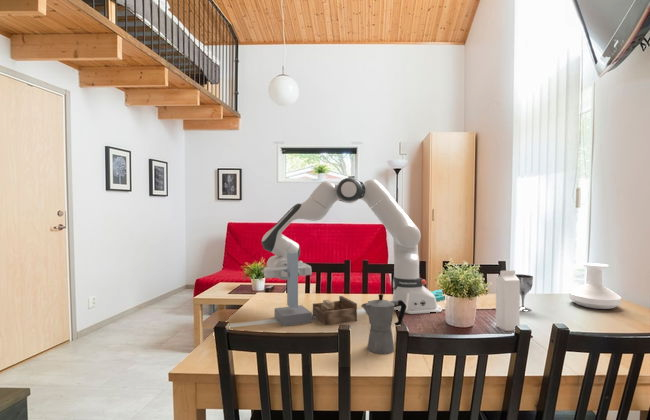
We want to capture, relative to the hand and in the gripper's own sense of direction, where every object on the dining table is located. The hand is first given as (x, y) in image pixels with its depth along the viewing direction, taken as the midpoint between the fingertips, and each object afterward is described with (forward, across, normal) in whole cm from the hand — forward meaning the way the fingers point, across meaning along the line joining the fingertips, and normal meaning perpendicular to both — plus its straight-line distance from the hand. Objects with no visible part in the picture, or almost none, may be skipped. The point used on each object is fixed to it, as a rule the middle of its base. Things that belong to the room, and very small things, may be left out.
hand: (293, 274), depth 153 cm
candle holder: (+34, +136, +19) cm, 141 cm away
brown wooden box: (+3, +17, +19) cm, 26 cm away
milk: (+41, +72, +19) cm, 85 cm away
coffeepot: (+40, +18, +19) cm, 48 cm away
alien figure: (-5, +84, +20) cm, 86 cm away
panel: (-1, 0, +13) cm, 13 cm away
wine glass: (+25, +100, +19) cm, 105 cm away
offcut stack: (+3, +14, +19) cm, 24 cm away
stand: (-1, 0, +19) cm, 19 cm away
